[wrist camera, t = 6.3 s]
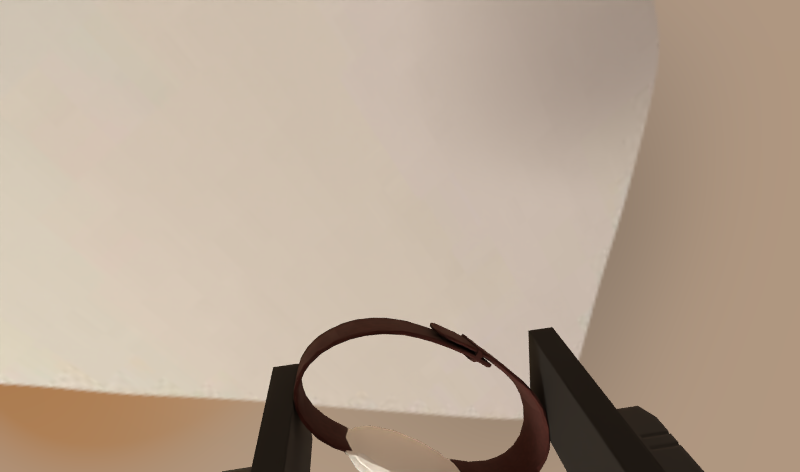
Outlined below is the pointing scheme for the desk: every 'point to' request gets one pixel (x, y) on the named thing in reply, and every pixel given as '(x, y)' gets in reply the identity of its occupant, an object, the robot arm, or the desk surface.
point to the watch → (402, 455)
